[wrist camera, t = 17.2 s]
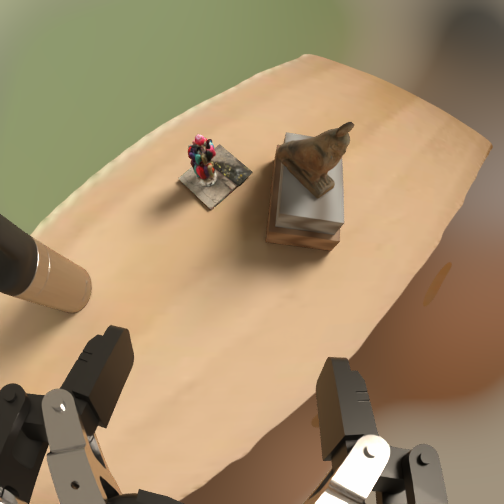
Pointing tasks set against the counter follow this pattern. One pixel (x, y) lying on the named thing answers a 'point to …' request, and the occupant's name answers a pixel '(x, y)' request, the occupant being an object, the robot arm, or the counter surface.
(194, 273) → the counter surface
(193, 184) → the statue
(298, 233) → the grey and brown block
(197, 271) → the counter surface
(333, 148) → the brown carved statuette
